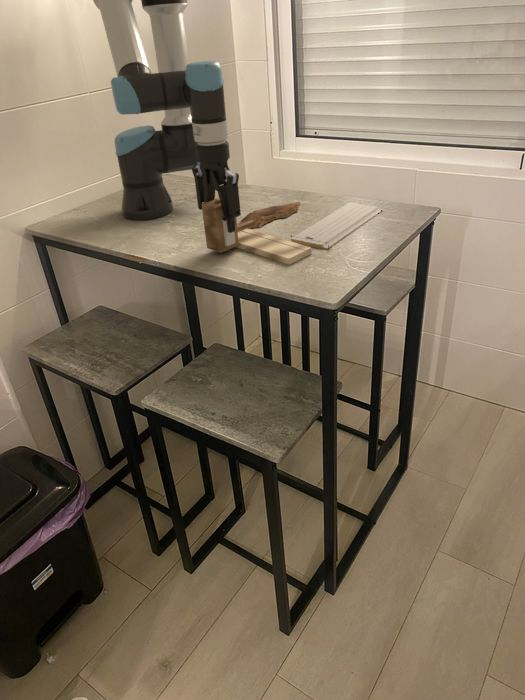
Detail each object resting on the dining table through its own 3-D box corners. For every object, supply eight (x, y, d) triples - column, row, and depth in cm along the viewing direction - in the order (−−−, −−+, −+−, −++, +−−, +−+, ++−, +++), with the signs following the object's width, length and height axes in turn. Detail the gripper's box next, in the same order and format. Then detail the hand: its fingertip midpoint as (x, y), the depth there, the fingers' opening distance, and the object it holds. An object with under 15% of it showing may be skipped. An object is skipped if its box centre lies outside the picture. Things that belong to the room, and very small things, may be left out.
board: (224, 243, 135) (224, 237, 134) (247, 233, 140) (246, 228, 139) (289, 264, 122) (288, 258, 121) (311, 253, 127) (311, 247, 126)
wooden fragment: (248, 233, 141) (248, 229, 140) (223, 224, 148) (223, 220, 148) (316, 208, 155) (316, 204, 154) (289, 201, 162) (289, 197, 161)
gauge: (207, 248, 130) (201, 201, 124) (247, 230, 138) (244, 186, 132) (220, 252, 127) (215, 205, 121) (261, 234, 135) (258, 189, 129)
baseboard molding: (387, 213, 148) (349, 207, 154) (388, 203, 146) (349, 197, 153) (332, 253, 127) (290, 244, 134) (332, 241, 126) (290, 233, 132)
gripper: (172, 140, 120) (187, 238, 133) (226, 150, 109) (236, 255, 122) (198, 134, 125) (209, 229, 137) (252, 142, 114) (259, 245, 126)
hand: (222, 241), depth 130 cm, fingers closed on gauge, 5 cm apart
